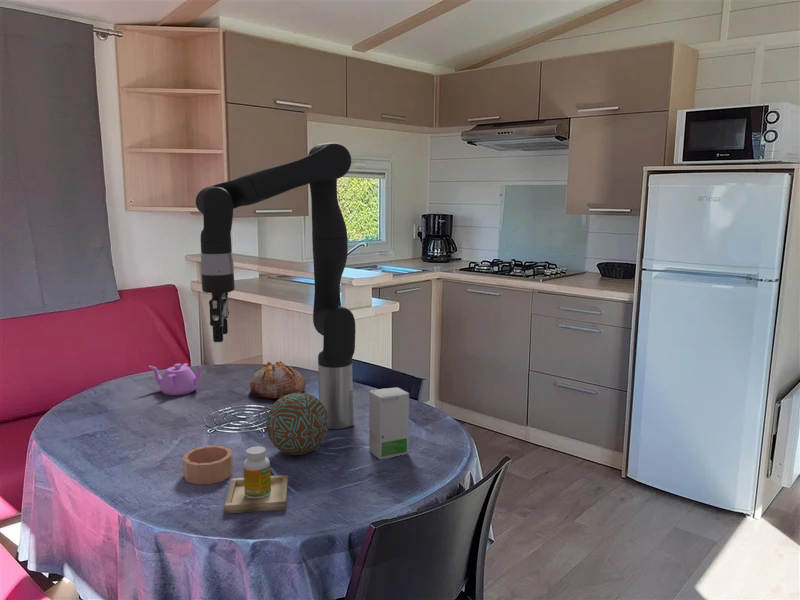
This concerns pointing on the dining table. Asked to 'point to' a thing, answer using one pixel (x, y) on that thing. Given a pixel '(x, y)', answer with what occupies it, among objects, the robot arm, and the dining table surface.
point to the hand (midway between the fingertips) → (220, 337)
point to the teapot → (178, 379)
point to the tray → (242, 504)
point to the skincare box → (388, 422)
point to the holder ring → (207, 464)
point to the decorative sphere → (297, 423)
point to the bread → (276, 381)
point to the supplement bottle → (256, 473)
